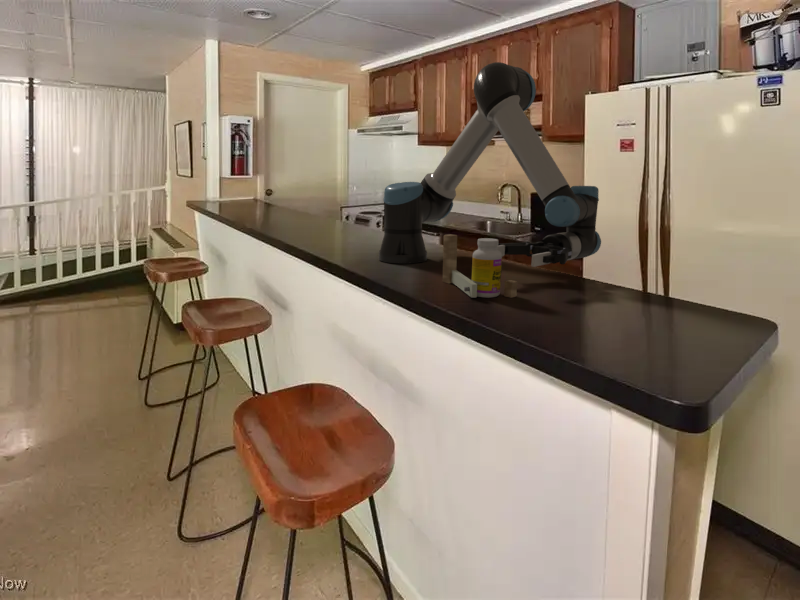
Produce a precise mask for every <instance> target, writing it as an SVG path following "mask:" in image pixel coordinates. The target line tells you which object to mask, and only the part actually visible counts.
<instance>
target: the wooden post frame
mask: <svg viewBox="0 0 800 600" xmlns="http://www.w3.org/2000/svg"><path fill="white" fill-rule="evenodd" d="M442 244H443V247H442V250H443V251H442V283H445V284H449V285H450V284H453V283H452V270H457V260H458V259H457V257H458V256H457V255H458V252H457V251H458V235H457V234H450V233H448V234H444V235H443V243H442ZM503 290H504V291H503V297H506V298H510V299H511V298H515V297H517V294H518V292H517V291H518V281H517V280H511V279H509V280H505V281H504V289H503Z"/></svg>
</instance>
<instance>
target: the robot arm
mask: <svg viewBox="0 0 800 600" xmlns="http://www.w3.org/2000/svg"><path fill="white" fill-rule="evenodd" d="M536 94H537V87H536V82H535V79H534V78H533V76H532V75H531V74H530V73H529V72H527V71H526V70H524V69H523V68H521V67H518V66H514V65H510V64H507V63H505V62H500V61H499V62H497V61H495V62H491V63H488V64H487V65H484V66H483V67H482V68H481V69H480V70H479V71H478V74H477V75H476V76H475V79H474V83H473V95H474V98H475V100H476V104H477V105H476V106H477V110H475V112H474V114H473V115H472V116H471V117H470V120H469V121H468V122H467V123H466V125H465V127H464V128H463V130H462V131H461V132H460V134H459V135H458V137H457V138H456V140H454V142H453V144H452V145H451V147H450V148H449V149H448V150H447V153H446V154H445V155H444V157H443V158H442V160H441V161H440V163H439V164H438V165H437V167H436V168H435V170H434V172H431V173H427V174H425V176H424V178H423V179H422V180H421V182H418V181H403V182H395V183H392V184H391V183H390V184H388V185H386V187H385V188H384V191H383V192H384V194H383V216H384V217H383V218H384V219H383V221H384V223H383V224H384V225H383V228H384V231H383V232H384V233H383V238H382V242H381V245H380V250H379V251H378V261H379V262H380V261H381V262H384V263H387V264H388V263H390V264H416V263H417V264H418V263H423V262H426V261H427V260H428V251H427V250H426V246H425V244H426V243H425V241H424V238H423V224H424V223H430V222H431V223H432V222H438V221H440V220H442V219H444V218H446V217H447V216H449V214H450V213H451V211H452V209H453V206H454V199H455V198H456V196H457V191H456V189H457V187H458V186H459V185H460V184H461V182H462V180H463V179H464V178H465V177H466V176H467V174H468V172H469V171H470V170H471V168H472V167H473V165H474V164H475V163H476V161H477V160H478V158H480V156H481V155H482V153H484V150H485V149H486V148H487V147H488V146H489V144H490V143H491V141H492V140H493V139H494V137H495V135H496V134H497V133H498V132H499V133H500V135H501V137H502V138H503V140H504V141H505V143H506V144H507V146H508V147H509V149H510V151H511V152H512V154H513V156H514V158H515V159H516V161H517V162H518V164H519V165H520V167H521V169H522V170H523V172H524V174H525V176H526V177H527V179H528V180H529V182H530V184H531V186H532V187H533V188H534V190H535V192H536V193H537V195H538V197H539V198H540V200H541V202H542V203H543V205H544V207H545V208H544V215H545V216H544V217H545V219H546V220H547V222H548V223H549V224H550V225H552V226H553V227H558V228H562V227H564V228H565V227H566V232H557V233H552V234H548V235H546V236H544V237H543V238H542V239H541V241H536V242H530V241H525V242H503V243H501V242H500V243H499V242H498V247H497V250H498V251H500V252H501V254H502V257H505V256H506V255H516V256H519V255H521V256H522V255H525V256H527V257H529V258H530V257H531V264H530V266H531V267H533V268H535V267H540V266H544V265H545V266H546V265H549V264H553V265H554V264H558V263H559V265H565V264H566V263H567V261H570V260H571V261H572V260H575V259H581V258H582V259H583V258H587V257H590V256H593V255H595V254H596V253H598V251H599V250H600V248H601V246H602V239H601V236H600V234H599V233H598V231H596V230H597V229H596V225H597V216H598V215H597V214H598V204H599V200H600V199H599V188H598V187H597V186H595V185H573V186H570V184H569V182H568V181H567V179H566V178H565V176H564V174H563V173H562V171H561V170H560V168H559V166H558V165H557V163H556V161H555V160H554V158H553V156H552V155H551V153H550V152H549V150H548V149H547V147H546V145H545V144H544V142H543V141H542V139H541V137H540V136H539V134H538V133H537V131H536V129H535V128H534V126H533V124H532V122H531V121H530V119H529V118H528V116H527V115H526V114H525V111H526V110H528V109H529V108H530V107H531V106H532V105H533V103H534V100H535V97H536Z"/></svg>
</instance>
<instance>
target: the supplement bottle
mask: <svg viewBox="0 0 800 600" xmlns="http://www.w3.org/2000/svg"><path fill="white" fill-rule="evenodd" d="M476 243H477V249H476V250H473V252H472V258H471V259H472V262H471V263H472V264H471V280H472V281H473V282H474V283H476V284H477V297H478V298H487V299H490V298H496V297H498V296H500V293H501V283H502V281H501V280H502V267H503V265H502V262H503V256H502V254H501V252H500V251H498V250H497V247H498V243H499V239H498V238H491V237H490V238H488V237H484V238H482V237H481V238H478V239H477V242H476Z"/></svg>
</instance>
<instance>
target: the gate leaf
mask: <svg viewBox="0 0 800 600" xmlns="http://www.w3.org/2000/svg"><path fill="white" fill-rule="evenodd" d="M451 284H453V285H455V286H457V288H459V289H460V290H461V291H462V292H464V293H465V294H466V295H467V296H469V297H470V298H475V299H476V298H477V297H478V296H477V284H476V283H474V282H473V281H472V279H470V278H469V277H467V276H466V275H464V274H463V273H461V272H460V271H458V270H457V269H456V270H452V283H451Z"/></svg>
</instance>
